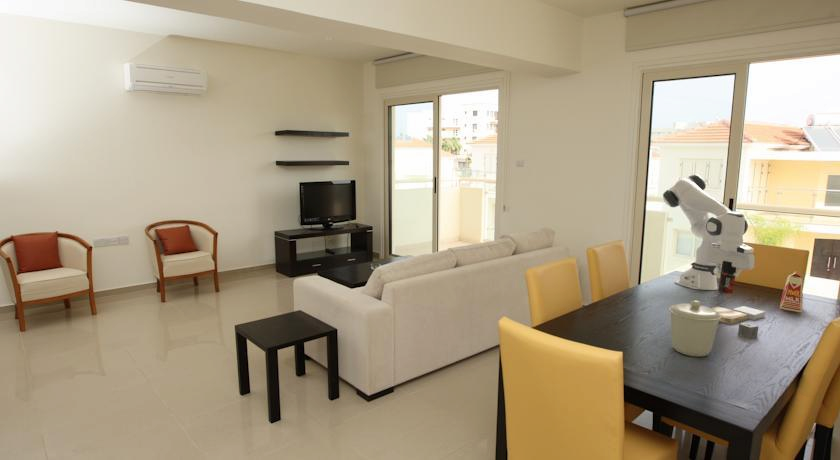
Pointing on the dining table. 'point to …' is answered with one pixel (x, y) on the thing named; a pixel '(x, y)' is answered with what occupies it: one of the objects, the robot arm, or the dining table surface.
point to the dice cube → (748, 330)
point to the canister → (693, 328)
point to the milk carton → (792, 294)
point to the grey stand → (751, 312)
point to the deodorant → (727, 278)
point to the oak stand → (730, 315)
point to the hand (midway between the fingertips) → (727, 275)
